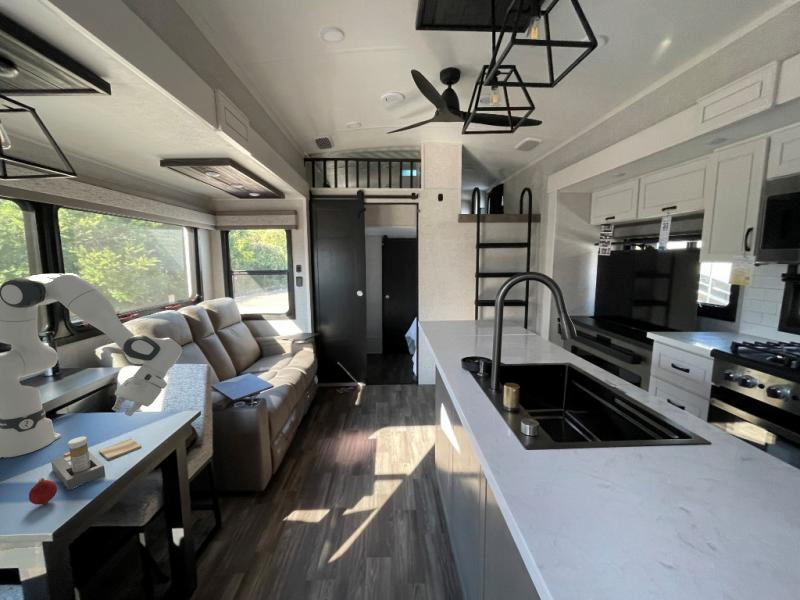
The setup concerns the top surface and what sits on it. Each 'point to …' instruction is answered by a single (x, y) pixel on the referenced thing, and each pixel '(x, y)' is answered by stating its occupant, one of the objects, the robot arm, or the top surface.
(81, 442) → the sprinkles bottle
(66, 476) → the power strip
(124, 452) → the wooden mat
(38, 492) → the onion
